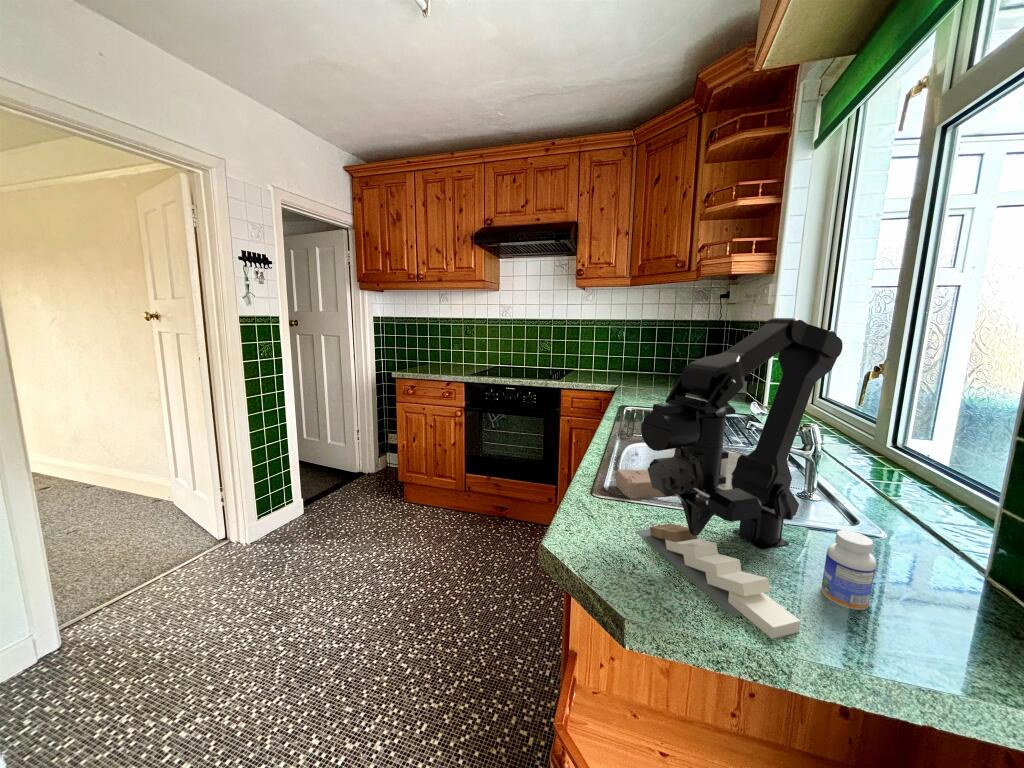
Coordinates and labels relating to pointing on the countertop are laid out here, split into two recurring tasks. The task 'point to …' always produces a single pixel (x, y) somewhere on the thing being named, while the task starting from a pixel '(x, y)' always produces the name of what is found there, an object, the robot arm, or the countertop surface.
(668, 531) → the walnut domino
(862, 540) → the pill bottle
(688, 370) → the robot arm
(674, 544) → the tile
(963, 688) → the countertop surface
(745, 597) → the tile
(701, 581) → the mat
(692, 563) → the tile
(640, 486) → the brick
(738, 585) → the tile
